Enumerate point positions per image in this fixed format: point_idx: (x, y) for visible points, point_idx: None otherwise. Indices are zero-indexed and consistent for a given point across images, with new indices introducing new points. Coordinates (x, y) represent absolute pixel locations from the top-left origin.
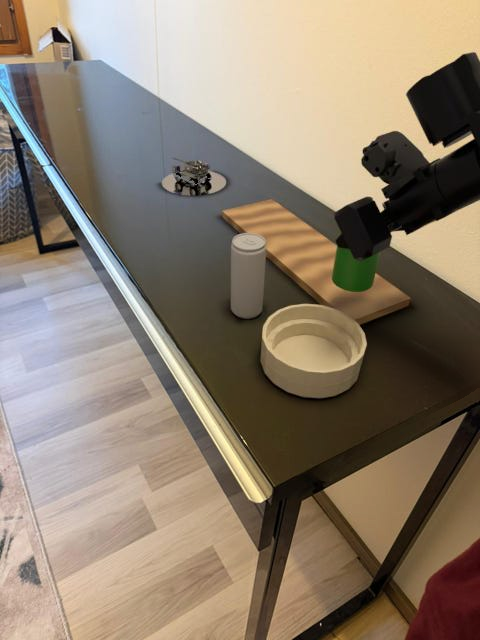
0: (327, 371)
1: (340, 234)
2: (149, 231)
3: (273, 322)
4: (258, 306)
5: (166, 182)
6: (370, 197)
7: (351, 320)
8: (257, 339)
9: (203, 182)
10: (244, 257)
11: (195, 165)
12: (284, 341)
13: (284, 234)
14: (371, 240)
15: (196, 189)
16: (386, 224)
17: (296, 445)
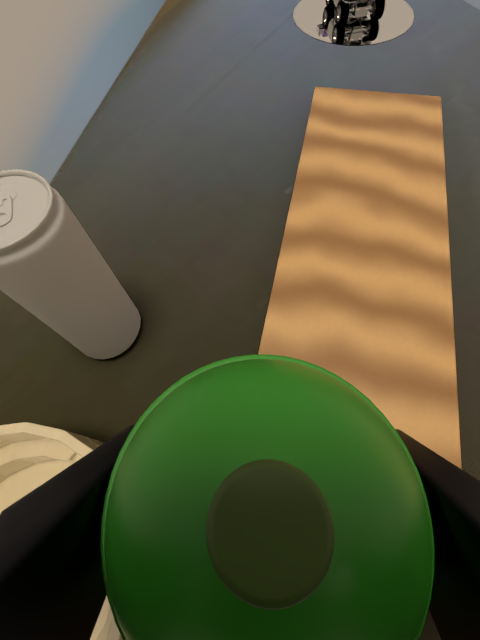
0: None
1: (73, 463)
2: (179, 83)
3: (5, 438)
4: (92, 350)
5: (309, 1)
6: (309, 533)
7: (110, 632)
8: (47, 412)
9: (366, 19)
10: None
11: None
12: (63, 465)
13: (365, 195)
14: None
15: (338, 29)
16: (460, 615)
17: None
